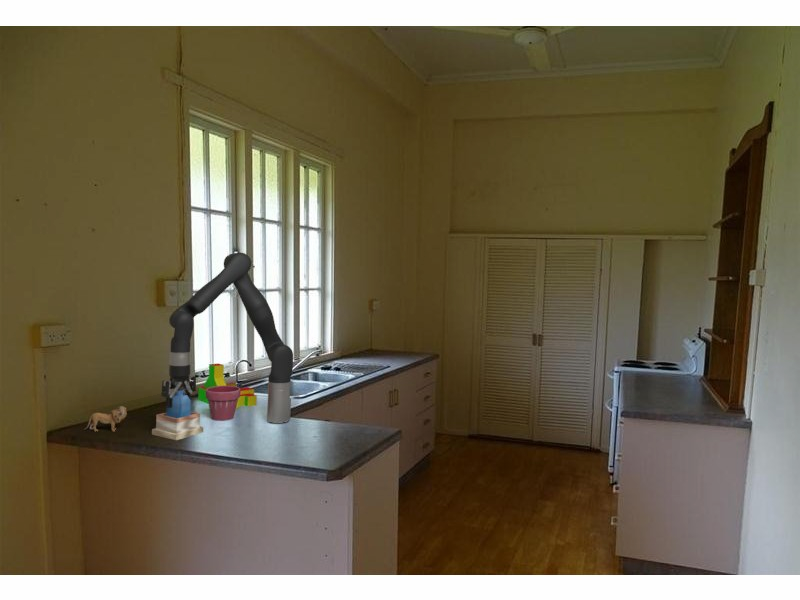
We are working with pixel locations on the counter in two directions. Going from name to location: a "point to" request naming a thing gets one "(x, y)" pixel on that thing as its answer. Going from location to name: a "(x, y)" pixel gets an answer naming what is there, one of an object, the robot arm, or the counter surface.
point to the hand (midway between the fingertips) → (178, 405)
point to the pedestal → (177, 426)
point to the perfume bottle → (179, 405)
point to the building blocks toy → (218, 380)
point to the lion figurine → (108, 418)
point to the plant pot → (222, 401)
